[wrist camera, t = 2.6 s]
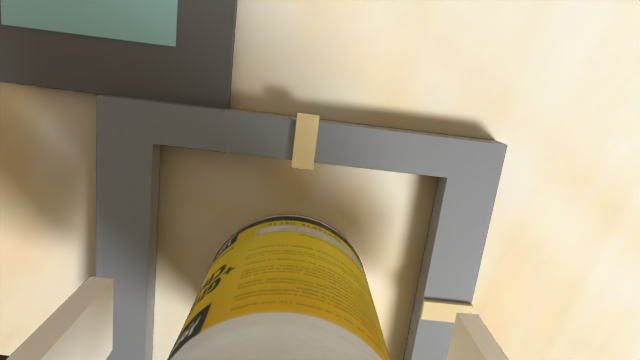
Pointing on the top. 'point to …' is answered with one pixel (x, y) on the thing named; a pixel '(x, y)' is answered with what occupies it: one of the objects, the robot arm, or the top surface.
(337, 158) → the socket plate
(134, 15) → the mat
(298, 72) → the top surface
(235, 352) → the pill bottle
